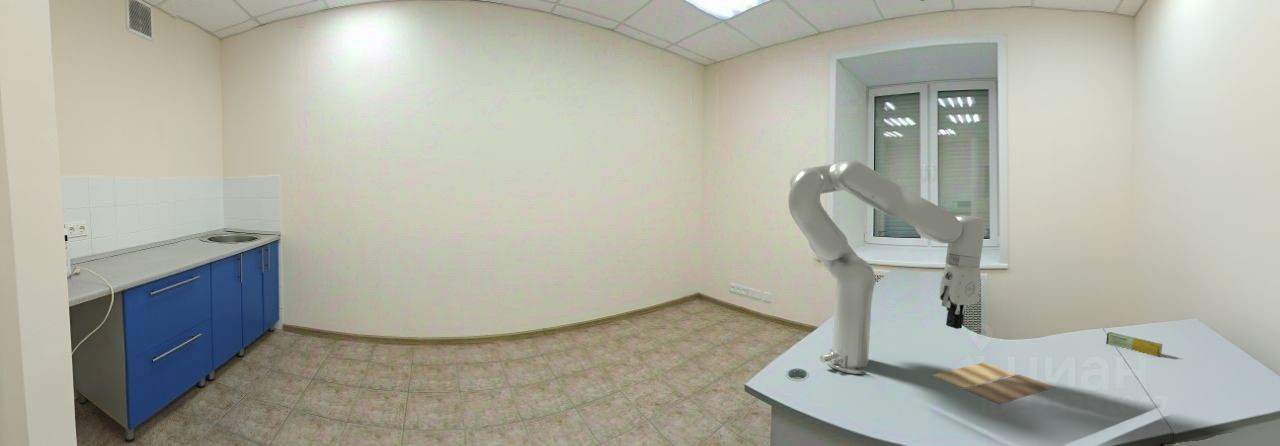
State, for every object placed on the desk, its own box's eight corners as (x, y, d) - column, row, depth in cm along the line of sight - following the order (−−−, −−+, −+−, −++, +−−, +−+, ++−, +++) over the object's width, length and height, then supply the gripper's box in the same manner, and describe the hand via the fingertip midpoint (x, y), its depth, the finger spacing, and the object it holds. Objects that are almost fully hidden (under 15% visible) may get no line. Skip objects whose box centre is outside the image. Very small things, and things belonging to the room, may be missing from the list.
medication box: (1105, 344, 148) (1106, 332, 147) (1108, 343, 149) (1110, 331, 148) (1158, 357, 137) (1159, 345, 136) (1162, 356, 138) (1163, 343, 138)
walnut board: (998, 410, 105) (999, 403, 104) (963, 394, 112) (963, 389, 112) (1054, 392, 113) (1055, 386, 113) (1018, 379, 121) (1018, 374, 121)
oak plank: (962, 393, 112) (963, 388, 112) (931, 380, 120) (931, 375, 120) (1015, 378, 121) (1015, 373, 121) (983, 367, 128) (983, 362, 128)
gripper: (958, 264, 114) (949, 334, 116) (995, 263, 120) (985, 329, 122) (930, 259, 121) (921, 324, 123) (966, 258, 127) (957, 320, 129)
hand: (953, 326), depth 123 cm, fingers closed
